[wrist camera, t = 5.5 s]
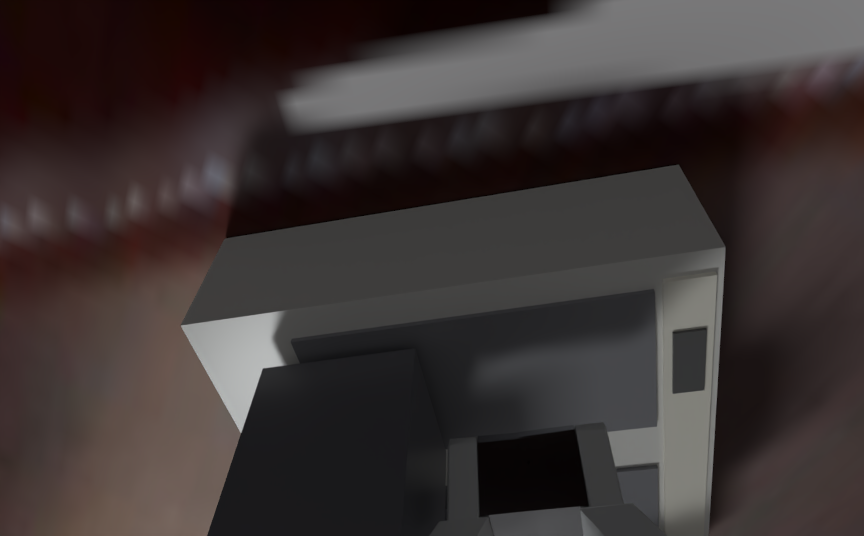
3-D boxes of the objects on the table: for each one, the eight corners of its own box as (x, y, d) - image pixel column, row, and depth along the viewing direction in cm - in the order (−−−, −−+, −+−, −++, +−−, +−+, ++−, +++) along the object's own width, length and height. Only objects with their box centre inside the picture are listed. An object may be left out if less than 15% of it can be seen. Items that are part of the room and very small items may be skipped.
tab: (415, 348, 12) (399, 566, 9) (446, 451, 14) (442, 667, 11) (262, 368, 13) (191, 582, 9) (310, 466, 15) (264, 677, 11)
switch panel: (678, 164, 14) (728, 252, 11) (675, 561, 22) (702, 661, 20) (224, 238, 15) (177, 331, 13) (385, 584, 24) (376, 680, 21)
